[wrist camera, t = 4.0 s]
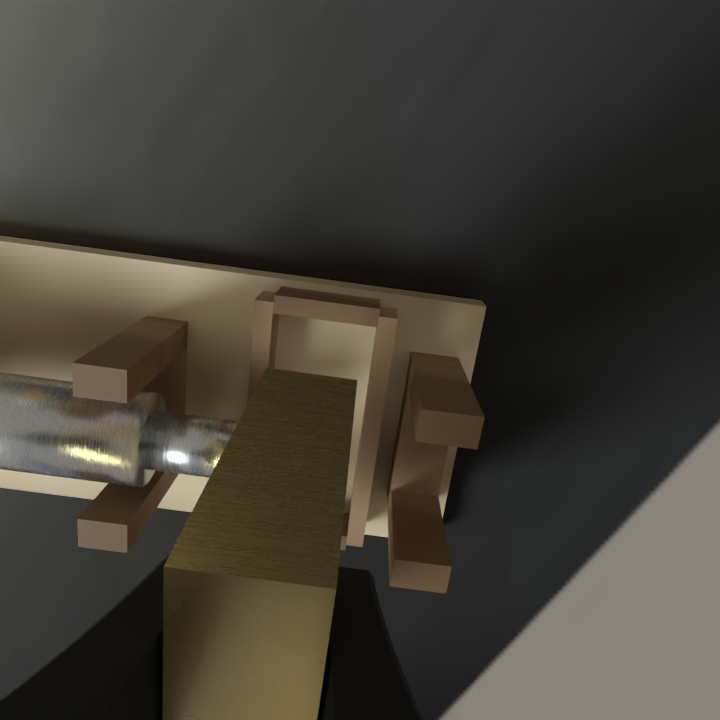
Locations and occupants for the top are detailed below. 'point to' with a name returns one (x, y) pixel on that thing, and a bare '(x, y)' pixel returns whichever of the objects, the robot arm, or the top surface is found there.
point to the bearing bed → (251, 378)
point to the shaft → (102, 434)
